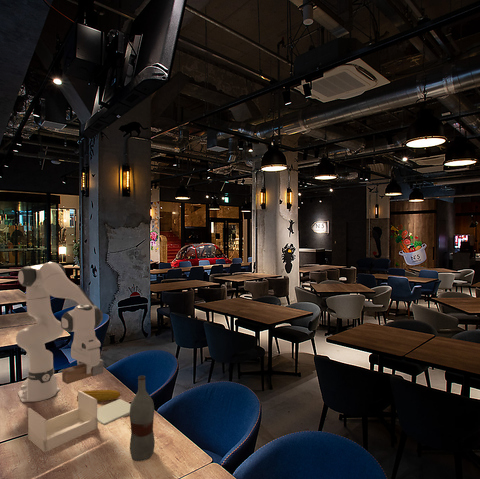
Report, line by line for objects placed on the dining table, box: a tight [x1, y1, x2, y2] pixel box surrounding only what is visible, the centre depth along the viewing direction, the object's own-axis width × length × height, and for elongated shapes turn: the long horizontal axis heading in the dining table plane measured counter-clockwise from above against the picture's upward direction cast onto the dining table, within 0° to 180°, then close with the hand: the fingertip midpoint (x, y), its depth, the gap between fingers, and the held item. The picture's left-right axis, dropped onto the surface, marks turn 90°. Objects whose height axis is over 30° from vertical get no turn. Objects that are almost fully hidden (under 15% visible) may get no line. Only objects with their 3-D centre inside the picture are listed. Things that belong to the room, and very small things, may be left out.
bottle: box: [128, 375, 156, 462], centre depth 131 cm, size 9×9×30 cm
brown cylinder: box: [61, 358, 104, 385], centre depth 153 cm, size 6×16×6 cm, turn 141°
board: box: [97, 398, 131, 426], centre depth 164 cm, size 16×18×1 cm
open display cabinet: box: [27, 390, 99, 453], centre depth 146 cm, size 16×22×13 cm
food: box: [76, 389, 121, 403], centre depth 177 cm, size 21×6×6 cm, turn 103°
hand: (84, 371), depth 153 cm, fingers closed on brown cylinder, 5 cm apart
